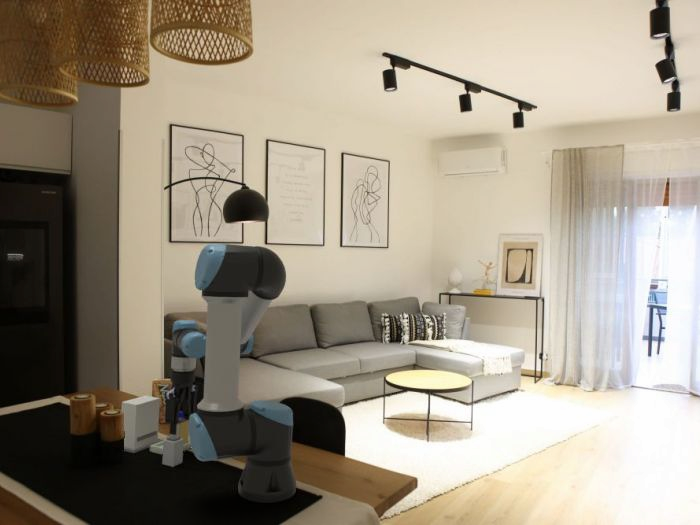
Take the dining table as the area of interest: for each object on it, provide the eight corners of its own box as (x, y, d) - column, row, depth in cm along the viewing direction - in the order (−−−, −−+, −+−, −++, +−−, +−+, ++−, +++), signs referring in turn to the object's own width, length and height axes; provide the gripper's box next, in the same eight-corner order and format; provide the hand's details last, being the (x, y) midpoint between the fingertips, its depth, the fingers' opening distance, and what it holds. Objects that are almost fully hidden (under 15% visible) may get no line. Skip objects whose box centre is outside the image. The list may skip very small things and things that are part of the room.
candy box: (176, 419, 205) (179, 378, 205) (175, 423, 201) (178, 381, 201) (151, 420, 203) (153, 378, 203) (150, 423, 199) (152, 381, 199)
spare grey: (182, 462, 164) (183, 436, 164) (172, 466, 161) (174, 440, 161) (171, 459, 166) (173, 434, 166) (162, 464, 162) (163, 438, 162)
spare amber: (187, 442, 179) (189, 418, 179) (179, 446, 175) (180, 422, 175) (178, 440, 180) (179, 416, 180) (169, 443, 177) (170, 419, 177)
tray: (206, 441, 183) (206, 436, 183) (171, 456, 168) (171, 450, 168) (186, 436, 187) (186, 431, 187) (149, 451, 172) (149, 445, 172)
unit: (162, 442, 180) (164, 398, 180) (133, 453, 169) (136, 406, 169) (143, 437, 184) (145, 394, 184) (114, 448, 173) (116, 402, 173)
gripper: (191, 363, 187) (188, 432, 187) (154, 371, 171) (150, 447, 171) (209, 366, 184) (206, 436, 184) (173, 375, 168) (169, 452, 168)
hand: (179, 441), depth 178 cm, fingers closed on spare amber, 4 cm apart
